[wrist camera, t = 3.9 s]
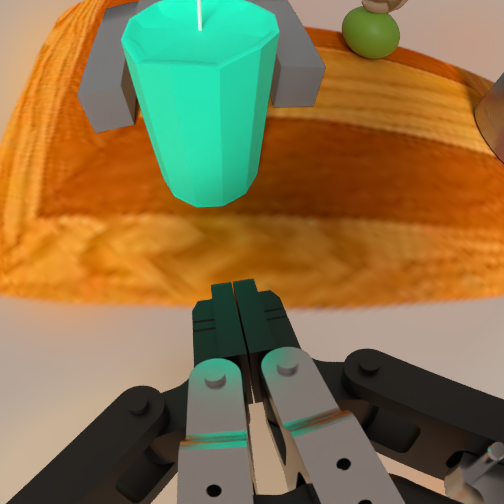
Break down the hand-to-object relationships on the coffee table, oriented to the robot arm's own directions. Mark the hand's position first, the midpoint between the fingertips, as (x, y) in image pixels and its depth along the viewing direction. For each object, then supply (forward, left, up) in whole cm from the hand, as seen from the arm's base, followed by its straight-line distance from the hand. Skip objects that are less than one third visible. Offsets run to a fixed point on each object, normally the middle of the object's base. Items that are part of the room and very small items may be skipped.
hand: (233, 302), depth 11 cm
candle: (0, -9, -6) cm, 11 cm away
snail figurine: (-16, -22, -6) cm, 28 cm away
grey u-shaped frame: (0, -20, -5) cm, 21 cm away
